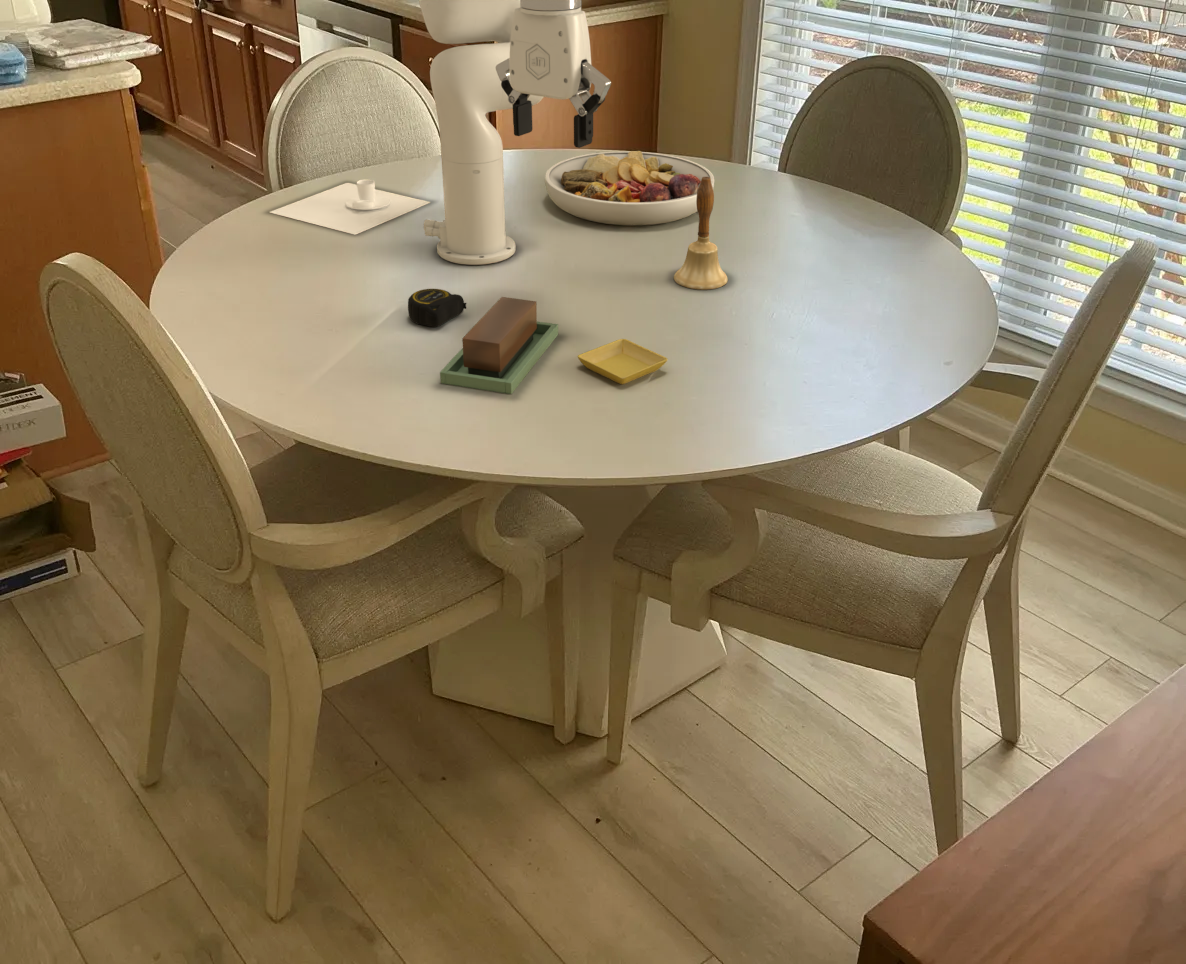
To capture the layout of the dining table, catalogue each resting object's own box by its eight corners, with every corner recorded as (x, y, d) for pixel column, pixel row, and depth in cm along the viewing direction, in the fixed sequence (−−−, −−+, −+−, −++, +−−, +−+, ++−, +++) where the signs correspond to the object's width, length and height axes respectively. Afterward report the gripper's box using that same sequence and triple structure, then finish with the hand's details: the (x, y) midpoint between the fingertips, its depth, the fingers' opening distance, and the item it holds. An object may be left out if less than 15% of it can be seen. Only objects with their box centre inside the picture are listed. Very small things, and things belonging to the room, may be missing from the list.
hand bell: (724, 292, 174) (732, 188, 165) (670, 287, 175) (675, 183, 167) (730, 271, 181) (738, 170, 172) (677, 267, 182) (682, 166, 174)
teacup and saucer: (367, 216, 200) (364, 193, 198) (332, 208, 204) (330, 185, 202) (400, 202, 207) (398, 180, 204) (366, 194, 210) (364, 172, 208)
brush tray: (440, 386, 147) (439, 372, 146) (493, 328, 162) (492, 314, 161) (511, 397, 145) (511, 383, 144) (558, 337, 160) (558, 323, 159)
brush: (464, 377, 148) (462, 338, 145) (502, 333, 159) (501, 296, 156) (500, 383, 147) (499, 343, 144) (537, 338, 158) (536, 301, 155)
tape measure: (436, 335, 160) (435, 310, 158) (398, 323, 163) (396, 298, 161) (467, 318, 165) (466, 293, 163) (430, 307, 168) (428, 283, 166)
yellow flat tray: (622, 351, 156) (623, 336, 155) (669, 372, 151) (669, 358, 150) (575, 370, 151) (575, 355, 150) (621, 393, 146) (622, 378, 145)
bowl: (510, 204, 206) (509, 161, 202) (617, 167, 226) (618, 126, 222) (642, 245, 190) (643, 198, 186) (745, 201, 210) (748, 158, 205)
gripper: (476, -5, 143) (482, 135, 152) (590, 9, 135) (590, 156, 143) (513, -12, 148) (518, 124, 157) (626, 0, 140) (624, 143, 149)
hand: (552, 139), depth 150 cm, fingers open, 9 cm apart
